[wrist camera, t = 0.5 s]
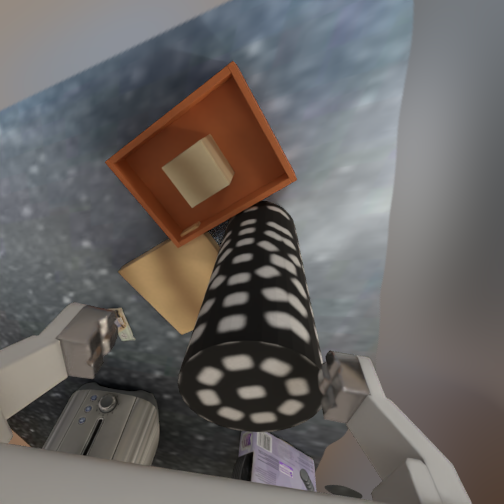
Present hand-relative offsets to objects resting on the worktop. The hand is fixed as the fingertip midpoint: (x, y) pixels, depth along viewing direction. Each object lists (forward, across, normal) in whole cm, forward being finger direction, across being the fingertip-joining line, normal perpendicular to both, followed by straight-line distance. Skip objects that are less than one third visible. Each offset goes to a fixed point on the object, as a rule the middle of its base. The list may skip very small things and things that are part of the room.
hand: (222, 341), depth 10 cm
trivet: (+22, +6, +15) cm, 27 cm away
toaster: (+22, +16, +54) cm, 61 cm away
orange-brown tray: (+22, +5, -1) cm, 23 cm away
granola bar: (+22, +15, +25) cm, 37 cm away
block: (+22, +5, -1) cm, 22 cm away
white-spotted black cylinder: (+22, -2, +6) cm, 23 cm away
